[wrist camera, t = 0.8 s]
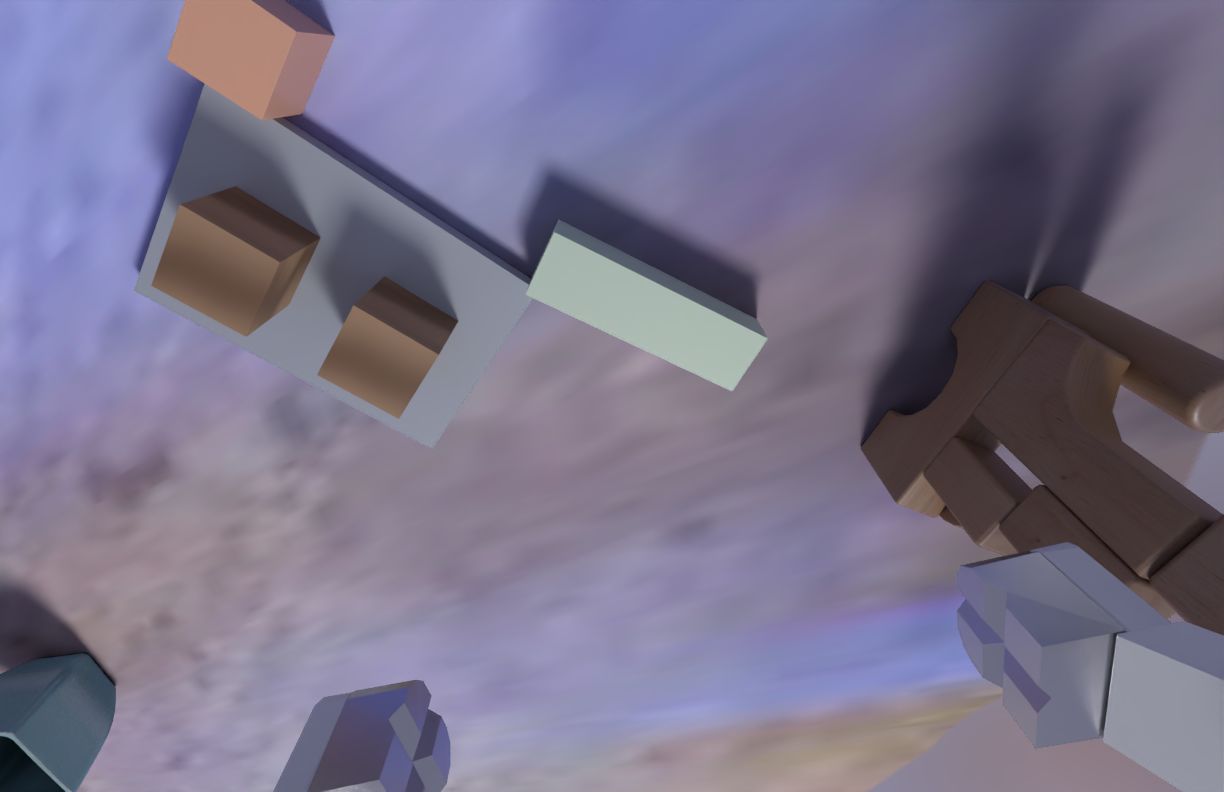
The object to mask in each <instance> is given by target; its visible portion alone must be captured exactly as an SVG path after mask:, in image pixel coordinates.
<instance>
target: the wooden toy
mask: <svg viewBox="0 0 1224 792" xmlns="http://www.w3.org/2000/svg"><path fill="white" fill-rule="evenodd" d="M950 330H951V331H952V333H953V334H954V336H955V337H956V339H957V354H958V356H957V359H956V363H955V367H954V371H953V374H952V376H951V377H950V379H949V381H948V382H947V384H946V386H945V387H944V389H943V391H942V392H941V394H940V395H939V396H938V397H937V398H936V399H935V400H934V401H933V402H932V403H931V404H930V405H929V406H928V407H927V408H925V409H923V410H921V411H919V412H917V413H915V414H913V415H903V414H901V413H898V412H896V411H893V410H889V411H888V412H887V413H886V414H885V416H884V417H883V418H882V420H881V421H880V422H879V424H878V425H877V426H876V428H875V429H874V430H873V432H872V433H871V434H870V436H869V437H868V438H867V440H866V441H865V443H864V444H863V445H862V447H861V450H862V452H863V453H864V455H865V456H866V458H867V460H868V461H869V463H870V464H871V466H872V467H873V469H874V470H875V472H876V473H877V475H878V476H879V478H880V479H881V481H882V482H883V484H884V486H885V487H886V489H887V490H888V492H889V493H890V495H891V496H892V498H893V499H894V501H895V502H896V503H897V504H899V505H902V506H904V507H907V508H910V509H912V510H915V511H918V512H920V513H923V514H926V515H928V516H931V517H937V516H938V515H940V516H941V517H942V518H943V520H945V521H947V522H949V523H951V524H952V525H954V526H957V527H959V528H962V529H964V530H965V531H966V533H967V534H968V535H969V536H970V538H971V539H972V540H973V542H974V543H975V544H976V545H978V546H980V547H983V548H985V549H988V550H991V551H993V552H996V553H999V554H1001V555H1004V556H1007V555H1011V554H1016V553H1021V552H1025V551H1031V550H1034V549H1038V548H1043V547H1047V546H1052V545H1056V544H1061V543H1065V542H1068V543H1071V544H1074V545H1077V546H1078V547H1080V548H1081V549H1082V550H1083V551H1084V552H1086V553H1087V554H1088V555H1089V556H1091V557H1092V558H1093V559H1094V560H1095V561H1097V562H1098V563H1099V564H1100V565H1101V566H1103V567H1104V568H1105V569H1106V570H1108V571H1109V572H1110V573H1111V574H1112V575H1114V576H1115V577H1116V578H1117V579H1119V580H1120V581H1121V582H1122V583H1123V584H1125V585H1126V586H1127V587H1128V588H1130V589H1131V590H1132V591H1133V592H1134V593H1136V594H1137V595H1138V596H1139V597H1141V598H1142V599H1143V600H1144V601H1145V602H1147V603H1148V604H1149V605H1150V606H1151V607H1153V608H1154V609H1155V610H1156V611H1158V612H1159V613H1160V614H1161V615H1162V616H1164V617H1165V618H1166V619H1168V618H1170V617H1171V616H1172V615H1174V614H1175V613H1177V614H1178V615H1179V616H1180V617H1181V618H1182V619H1183V620H1184V621H1185V622H1188V623H1190V624H1193V625H1196V626H1199V627H1201V628H1204V629H1207V630H1210V631H1212V632H1215V633H1218V634H1221V635H1223V636H1224V515H1223V514H1222V513H1220V512H1219V511H1217V510H1216V509H1215V508H1213V507H1212V506H1211V505H1209V504H1208V503H1206V502H1205V501H1204V500H1202V499H1201V498H1199V497H1198V496H1197V495H1195V494H1194V493H1193V492H1191V491H1190V490H1188V489H1187V488H1186V487H1184V486H1183V485H1182V484H1180V483H1179V482H1177V481H1176V480H1175V479H1173V478H1172V477H1171V476H1169V475H1168V474H1166V473H1165V472H1164V471H1162V470H1161V469H1160V468H1158V467H1157V466H1155V465H1154V464H1153V463H1151V462H1150V461H1149V460H1147V459H1146V458H1144V457H1143V456H1142V455H1140V454H1139V453H1138V452H1136V451H1135V450H1133V449H1132V448H1131V447H1129V446H1128V445H1127V444H1125V443H1124V442H1122V439H1121V436H1120V433H1119V430H1118V427H1117V424H1116V421H1115V417H1114V414H1113V408H1114V404H1115V401H1116V397H1117V393H1118V389H1119V386H1120V384H1121V385H1122V386H1124V387H1125V388H1127V389H1129V390H1130V391H1132V392H1133V393H1135V394H1137V395H1138V396H1140V397H1141V398H1143V399H1145V400H1146V401H1148V402H1149V403H1151V404H1153V405H1154V406H1156V407H1157V408H1159V409H1161V410H1162V411H1164V412H1165V413H1167V414H1169V415H1170V416H1172V417H1173V418H1175V419H1177V420H1178V421H1180V422H1181V423H1183V424H1185V425H1186V426H1188V427H1189V428H1191V429H1193V430H1195V431H1200V432H1204V433H1219V432H1223V431H1224V360H1222V359H1220V358H1218V357H1216V356H1214V355H1211V354H1209V353H1207V352H1205V351H1203V350H1201V349H1199V348H1197V347H1195V346H1193V345H1191V344H1189V343H1187V342H1185V341H1182V340H1180V339H1178V338H1176V337H1174V336H1172V335H1170V334H1168V333H1166V332H1164V331H1162V330H1160V329H1158V328H1155V327H1153V326H1151V325H1149V324H1147V323H1145V322H1143V321H1141V320H1139V319H1137V318H1135V317H1133V316H1131V315H1129V314H1126V313H1124V312H1122V311H1120V310H1118V309H1116V308H1114V307H1112V306H1110V305H1108V304H1106V303H1104V302H1102V301H1099V300H1097V299H1095V298H1093V297H1091V296H1089V295H1087V294H1085V293H1083V292H1081V291H1079V290H1077V289H1075V288H1072V287H1069V286H1066V285H1062V286H1052V287H1050V288H1047V289H1045V290H1043V291H1041V292H1040V293H1038V294H1037V295H1036V296H1035V297H1034V298H1033V299H1032V301H1030V300H1028V299H1026V298H1024V297H1022V296H1020V295H1018V294H1016V293H1014V292H1012V291H1010V290H1008V289H1006V288H1004V287H1001V286H999V285H997V284H995V283H993V282H991V281H985V282H984V283H983V284H982V286H981V287H980V288H979V290H978V291H977V292H976V294H975V295H974V296H973V298H972V299H971V300H970V302H969V303H968V304H967V306H966V307H965V308H964V310H963V311H962V312H961V314H960V315H959V316H958V318H957V319H956V321H955V322H954V323H953V325H952V326H951V328H950ZM1001 443H1002V444H1003V445H1004V446H1005V447H1006V448H1007V449H1008V450H1009V451H1010V452H1011V453H1012V454H1013V455H1014V456H1015V457H1017V458H1018V459H1019V460H1020V461H1021V462H1022V463H1023V464H1024V465H1025V466H1026V467H1027V468H1028V469H1029V470H1030V471H1031V472H1032V473H1033V474H1034V475H1035V476H1036V477H1037V478H1038V479H1039V480H1040V481H1041V482H1042V483H1043V484H1044V485H1038V486H1036V487H1035V488H1034V489H1033V490H1032V489H1031V488H1030V487H1029V486H1028V485H1027V484H1026V483H1025V482H1024V481H1023V480H1022V479H1021V478H1020V477H1019V476H1018V475H1017V474H1016V473H1015V472H1014V471H1013V470H1012V469H1011V468H1010V467H1009V466H1008V465H1007V464H1006V463H1005V462H1004V461H1003V460H1002V459H1001V458H1000V457H999V456H998V455H997V454H996V453H995V452H994V451H995V450H996V449H997V448H998V447H999V446H1000V444H1001ZM1045 485H1046V486H1045Z"/></svg>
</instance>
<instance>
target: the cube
mask: <svg viewBox="0 0 1224 792" xmlns="http://www.w3.org/2000/svg"><path fill="white" fill-rule="evenodd" d="M334 37H335V35H333V34H332V33H330V32H329V31H327V30H326V29H325V28H323V27H322V26H320V25H319V24H318V23H316V22H315V21H313V20H312V19H310V18H309V17H308V16H306V15H305V14H303V13H302V12H301V11H299V10H298V9H296V8H295V7H294V6H292V5H291V4H289V3H288V2H286V1H285V0H185V3H184V6H183V9H182V12H181V15H180V19H179V22H178V25H177V28H176V32H175V35H174V38H173V41H172V44H171V48H170V51H169V54H168V57H167V60H169V61H170V62H172V63H173V64H175V65H177V66H178V67H180V68H181V69H183V70H184V71H186V72H187V73H189V74H190V75H192V76H194V77H195V78H197V79H198V80H200V81H201V82H203V83H204V84H206V85H208V86H209V87H211V88H212V89H214V90H215V91H217V92H218V93H220V94H222V95H223V96H225V97H226V98H228V99H229V100H231V101H232V102H234V103H236V104H237V105H239V106H240V107H242V108H243V109H245V110H246V111H248V112H250V113H251V114H253V115H254V116H256V117H257V118H259V119H260V120H268V119H274V118H280V117H287V116H293V115H299V114H303V111H304V109H305V107H306V104H307V102H308V99H309V97H310V95H311V92H312V90H313V87H314V85H315V83H316V80H317V78H318V76H319V73H320V71H321V68H322V66H323V64H324V61H325V59H326V56H327V54H328V52H329V49H330V47H331V44H332V42H333V40H334Z"/></svg>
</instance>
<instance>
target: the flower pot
mask: <svg viewBox="0 0 1224 792" xmlns="http://www.w3.org/2000/svg"><path fill="white" fill-rule="evenodd" d="M115 704H116V688H115V686H114V685H113V684H112V683H111V682H110V680H109V679H108V678H107V677H106V676H105V675H104V673H103V672H102V671H101V670H100V669H99V667H98V666H97V665H96V664H95V662H94V661H93V660H92V659H91V658H90V656H88V655H87V654H82V653H81V654H74V655H66V656H58V657H50V658H41V659H36V660H33V661H30V662H28V663H25V664H23V665H20V666H17V667H15V668H13V669H10V670H8V671H6V672H4V673H2V674H0V792H77V790H78V788H79V786H80V785H81V783H82V781H83V779H84V778H85V776H86V774H87V773H88V771H89V769H90V767H91V766H92V764H93V762H94V760H95V758H96V757H97V755H98V753H99V751H100V750H101V748H102V746H103V744H104V742H105V740H106V738H107V736H108V733H109V731H110V728H111V725H112V722H113V718H114V713H115Z"/></svg>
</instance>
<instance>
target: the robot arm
mask: <svg viewBox="0 0 1224 792" xmlns="http://www.w3.org/2000/svg"><path fill="white" fill-rule="evenodd" d="M957 588H958V589H959V591H960V592H961V593H962V594H963V596H964V597H965V598H966V599H965V601H964V602H963V603H962V605H961V606H960V607H959V609H958V610H957V621H958V630H959V634H960V637H961V640H962V643H963V646H964V648H965V650H966V652H967V654H968V656H969V658H970V660H971V662H972V663H973V665H974V666H975V667H976V669H977V670H978V672H979V673H980V674H981V676H982V677H983V678H985V679H987V680H988V681H990V682H992V683H994V684H996V685H998V686H1000V687H1002V688H1003V706H1004V707H1005V708H1006V710H1007V711H1008V713H1009V714H1010V715H1011V717H1012V718H1013V719H1014V721H1015V722H1016V723H1017V724H1018V726H1019V727H1020V729H1021V730H1022V731H1023V733H1024V734H1025V735H1026V737H1027V738H1028V739H1029V741H1030V742H1031V743H1032V745H1033V746H1034V747H1035V748H1042V747H1048V746H1055V745H1060V744H1067V743H1073V742H1079V741H1085V740H1092V739H1098V738H1103V742H1105V743H1106V744H1108V745H1110V746H1111V747H1113V748H1114V749H1116V750H1118V751H1119V752H1121V753H1122V754H1124V755H1125V756H1127V757H1129V758H1130V759H1132V760H1133V761H1135V762H1137V763H1138V764H1140V765H1141V766H1143V767H1144V768H1146V769H1148V770H1149V771H1151V772H1153V773H1154V774H1156V775H1157V776H1159V777H1160V778H1162V779H1164V780H1165V781H1167V782H1168V783H1170V784H1171V785H1173V786H1175V787H1176V788H1178V789H1179V790H1181V791H1183V792H1224V636H1223V635H1221V634H1218V633H1215V632H1212V631H1210V630H1207V629H1204V628H1201V627H1199V626H1196V625H1193V624H1190V623H1188V622H1185V621H1182V622H1176V623H1171V622H1170V621H1169V620H1167V619H1166V618H1165V617H1164V616H1162V615H1161V614H1160V613H1159V612H1158V611H1156V610H1155V609H1154V608H1153V607H1151V606H1150V605H1149V604H1148V603H1147V602H1145V601H1144V600H1143V599H1142V598H1141V597H1139V596H1138V595H1137V594H1136V593H1134V592H1133V591H1132V590H1131V589H1130V588H1128V587H1127V586H1126V585H1125V584H1123V583H1122V582H1121V581H1120V580H1119V579H1117V578H1116V577H1115V576H1114V575H1112V574H1111V573H1110V572H1109V571H1108V570H1106V569H1105V568H1104V567H1103V566H1101V565H1100V564H1099V563H1098V562H1097V561H1095V560H1094V559H1093V558H1092V557H1091V556H1089V555H1088V554H1087V553H1086V552H1084V551H1083V550H1082V549H1081V548H1080V547H1078V546H1077V545H1074V544H1071V543H1068V542H1065V543H1061V544H1056V545H1052V546H1047V547H1043V548H1038V549H1034V550H1031V551H1025V552H1021V553H1016V554H1011V555H1007V556H1002V557H998V558H993V559H989V560H984V561H980V562H975V563H970V564H966V565H961V566H960V568H959V570H958V572H957ZM430 699H431V694H430V693H429V691H428V689H427V687H426V685H425V684H424V682H423V681H420V680H413V681H407V682H402V683H396V684H391V685H385V686H380V687H374V688H369V689H363V690H358V691H354V692H351V693H345V694H339V695H334V696H328V697H324V698H323V699H322V700H320V701H319V702H318V703H317V704H316V705H315V706H314V708H313V710H312V712H311V714H310V716H309V719H308V721H307V723H306V725H305V727H304V729H303V731H302V733H301V735H300V737H299V739H298V741H297V743H296V746H295V748H294V750H293V752H292V754H291V756H290V758H289V760H288V762H287V764H286V766H285V768H284V770H283V772H282V775H281V777H280V779H279V781H278V783H277V785H276V787H275V789H274V791H273V792H441V790H442V789H443V788H444V787H445V785H446V784H447V779H448V774H449V769H450V740H449V736H448V731H447V727H446V725H445V723H444V721H443V719H442V717H441V716H440V715H438V714H436V713H435V712H433V711H431V710H429V709H428V707H429V703H430Z"/></svg>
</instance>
